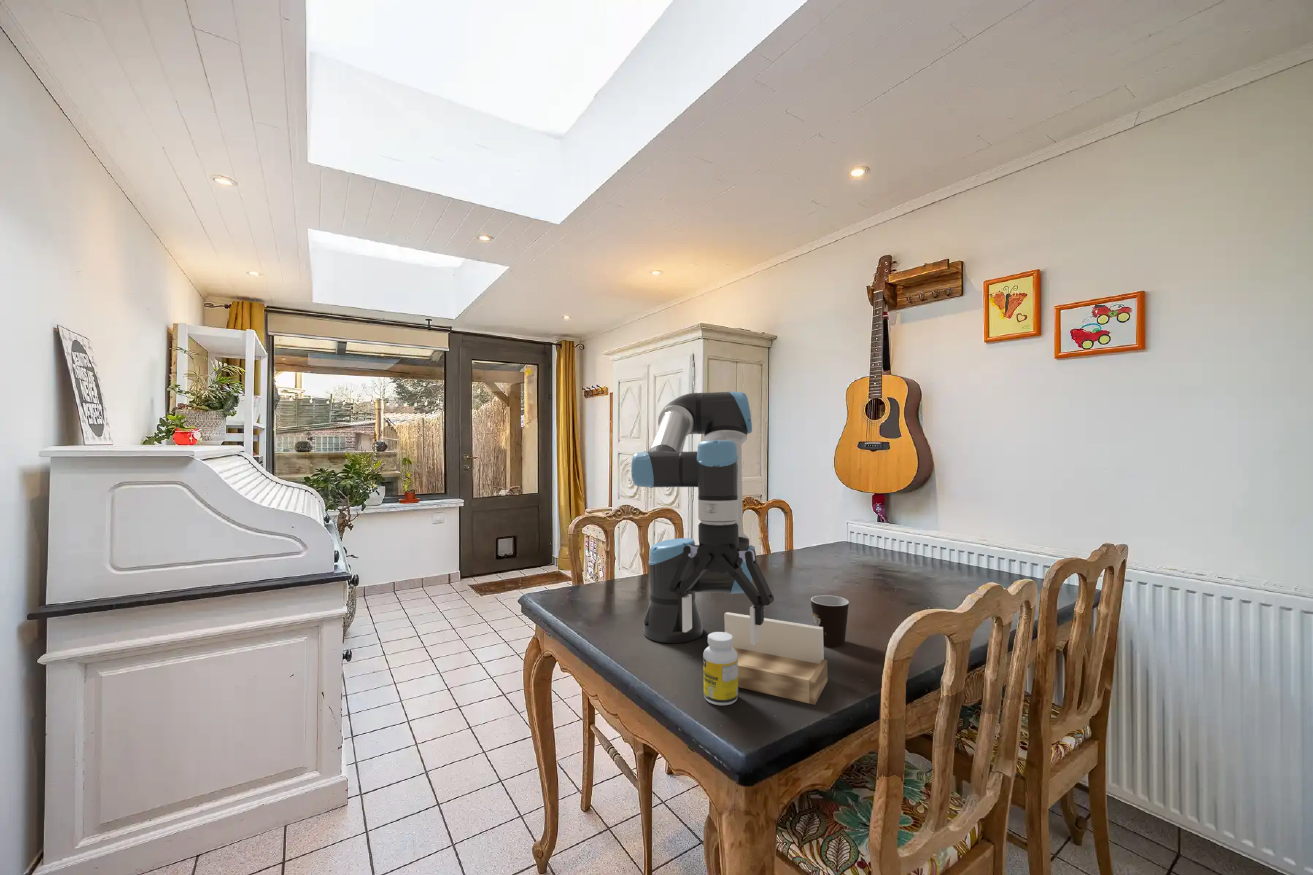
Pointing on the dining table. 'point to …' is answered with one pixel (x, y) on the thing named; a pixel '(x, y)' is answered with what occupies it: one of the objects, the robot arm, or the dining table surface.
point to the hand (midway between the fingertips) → (719, 636)
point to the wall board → (777, 638)
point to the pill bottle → (720, 669)
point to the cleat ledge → (781, 676)
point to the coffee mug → (831, 618)
